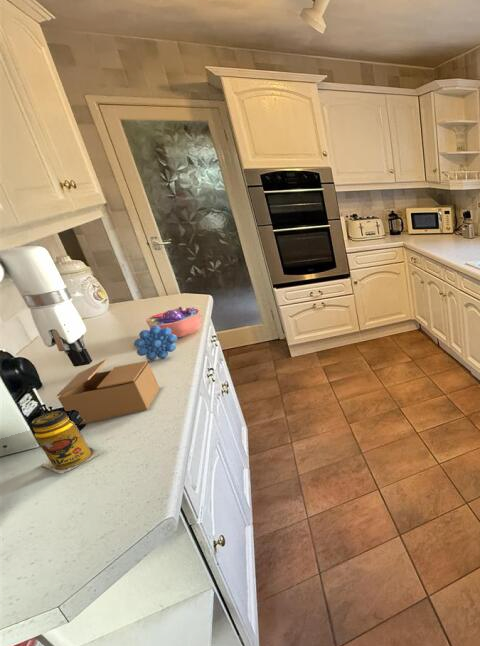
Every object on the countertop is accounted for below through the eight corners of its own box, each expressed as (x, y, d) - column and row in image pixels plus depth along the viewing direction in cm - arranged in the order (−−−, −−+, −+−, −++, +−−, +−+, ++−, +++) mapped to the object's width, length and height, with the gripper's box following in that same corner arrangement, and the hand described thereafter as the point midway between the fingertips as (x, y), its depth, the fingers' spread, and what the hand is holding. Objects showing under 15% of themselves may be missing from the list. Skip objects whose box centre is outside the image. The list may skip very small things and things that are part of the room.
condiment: (61, 474, 85) (33, 429, 81) (41, 465, 88) (12, 421, 83) (103, 453, 92) (79, 410, 87) (82, 445, 94) (58, 403, 90)
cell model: (208, 322, 169) (199, 297, 164) (204, 338, 153) (194, 311, 148) (158, 331, 161) (147, 305, 156) (149, 349, 145) (136, 320, 140)
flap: (57, 396, 98) (56, 395, 98) (79, 374, 109) (78, 373, 109) (89, 380, 100) (87, 378, 100) (107, 359, 111) (106, 358, 110)
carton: (74, 426, 102) (56, 395, 98) (93, 401, 112) (78, 373, 109) (147, 409, 108) (133, 380, 104) (159, 387, 119) (147, 360, 115)
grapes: (184, 349, 144) (172, 319, 139) (183, 356, 139) (170, 324, 134) (143, 358, 138) (129, 326, 133) (140, 365, 133) (125, 333, 128)
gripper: (42, 292, 101) (76, 356, 108) (8, 310, 88) (50, 380, 96) (81, 288, 104) (112, 350, 111) (54, 304, 92) (91, 372, 99)
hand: (83, 364), depth 104 cm, fingers closed
